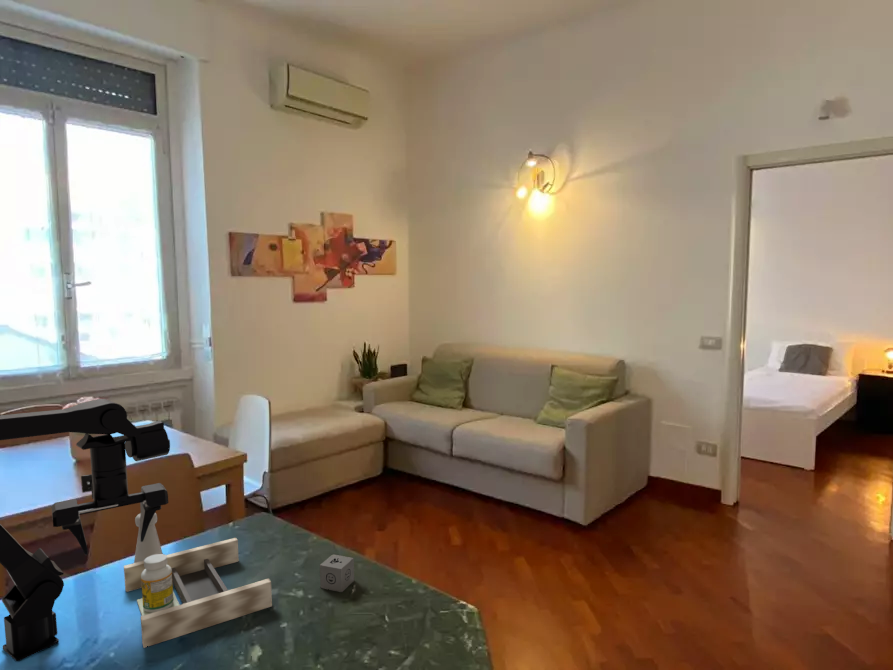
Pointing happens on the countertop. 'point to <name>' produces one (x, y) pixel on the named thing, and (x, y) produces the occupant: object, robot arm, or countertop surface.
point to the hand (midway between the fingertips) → (114, 547)
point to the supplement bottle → (156, 584)
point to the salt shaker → (147, 541)
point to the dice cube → (337, 573)
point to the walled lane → (198, 593)
